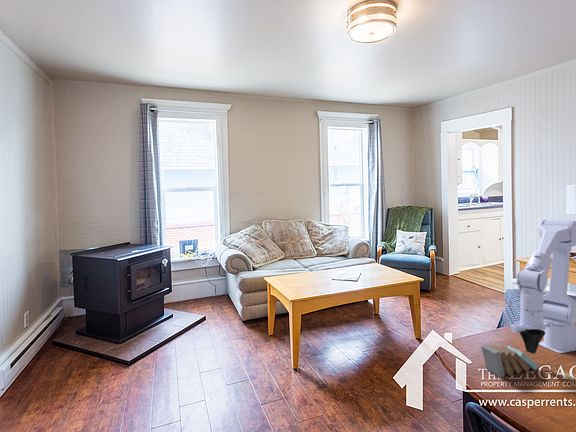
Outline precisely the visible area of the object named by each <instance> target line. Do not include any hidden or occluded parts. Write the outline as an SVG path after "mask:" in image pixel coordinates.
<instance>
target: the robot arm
mask: <svg viewBox="0 0 576 432" xmlns="http://www.w3.org/2000/svg"><path fill="white" fill-rule="evenodd" d="M537 231H538V234H539V238H540V241H539V245H538V248H537V250H536V251H534V252H532V253H531V254H530V257H529V258H528V261H527V263H526V264H525V266H524V268H523V269H522V270H519V271H518V273H517V275H516V276H517V277H516V285H517V286H518V293H519V294H520V297H519V298H520V305H519V307H520V308H519V309H520V310H519V317H520V318H519V321H516V322H515V323H512V324H509V331H510V332H512V333H513V334H520V337H521V338H522V341H523V343H524V347H525V351H526V352H528V353H530V354H536V353H537V350H538V347H539V346H541V347H543V348H545V349H548V350H551V351H553V352H555V353H557V354H563V353H569V352H573V351H574V352H575V351H576V325H575V324H576V301H575V300H574V299H573V298H572V297H570V295H568V285H569V271H570V262H571V261H570V260H571V251H572V249H573V248H572V247H576V220H554V219H553V220H552V219H551V220H548V219H542V220H541V221H540V222H539V223H538V230H537ZM550 268H551V269H550ZM549 271H550V279H549V275H548V273H549ZM548 279H549V290H548V291H549V292H548V293H545V294H544V291H545V290H546V288H547V285H548ZM542 339H543V341H542Z"/></svg>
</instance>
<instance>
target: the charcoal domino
mask: <svg viewBox="0 0 576 432" xmlns="http://www.w3.org/2000/svg"><path fill="white" fill-rule="evenodd" d="M488 345H489V344H486V343H485V344H483V345H481V346H480V347H481V351H482V357H483V359H484V360H483V361H484V364H485V368H486V371H488V372H490V373H492V374H493V375H495V376H497V377H498V378H500V379H502V378H503V377H505V376H506V374H505V373H504V369H503V365H502V360H501V356H500V352H499V351H498V350H496V349H494V348H492V347H490V346H488Z"/></svg>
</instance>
